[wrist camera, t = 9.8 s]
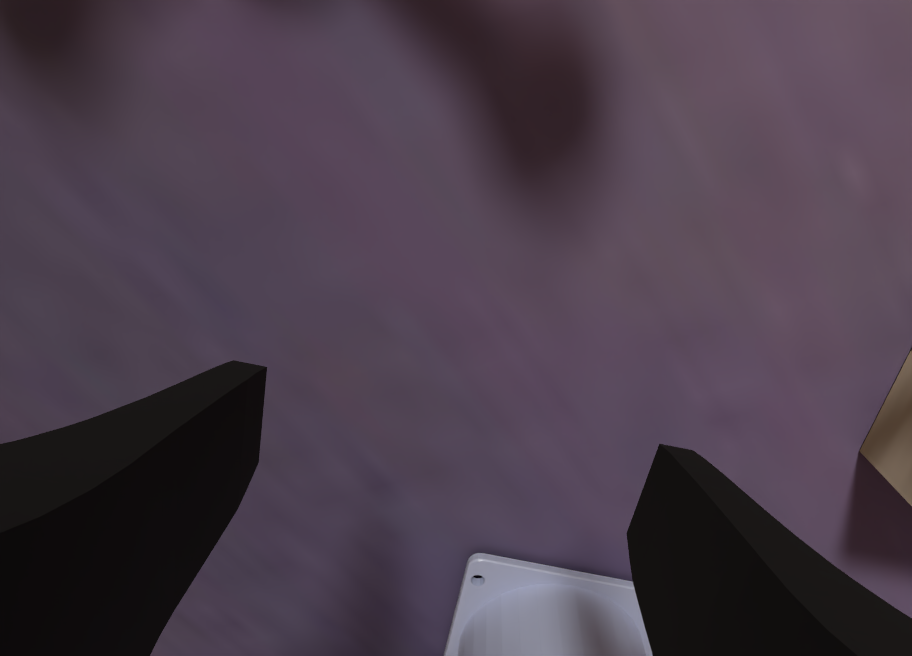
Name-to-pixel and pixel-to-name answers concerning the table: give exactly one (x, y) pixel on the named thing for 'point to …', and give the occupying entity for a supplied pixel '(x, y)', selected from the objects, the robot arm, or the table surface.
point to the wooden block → (894, 435)
